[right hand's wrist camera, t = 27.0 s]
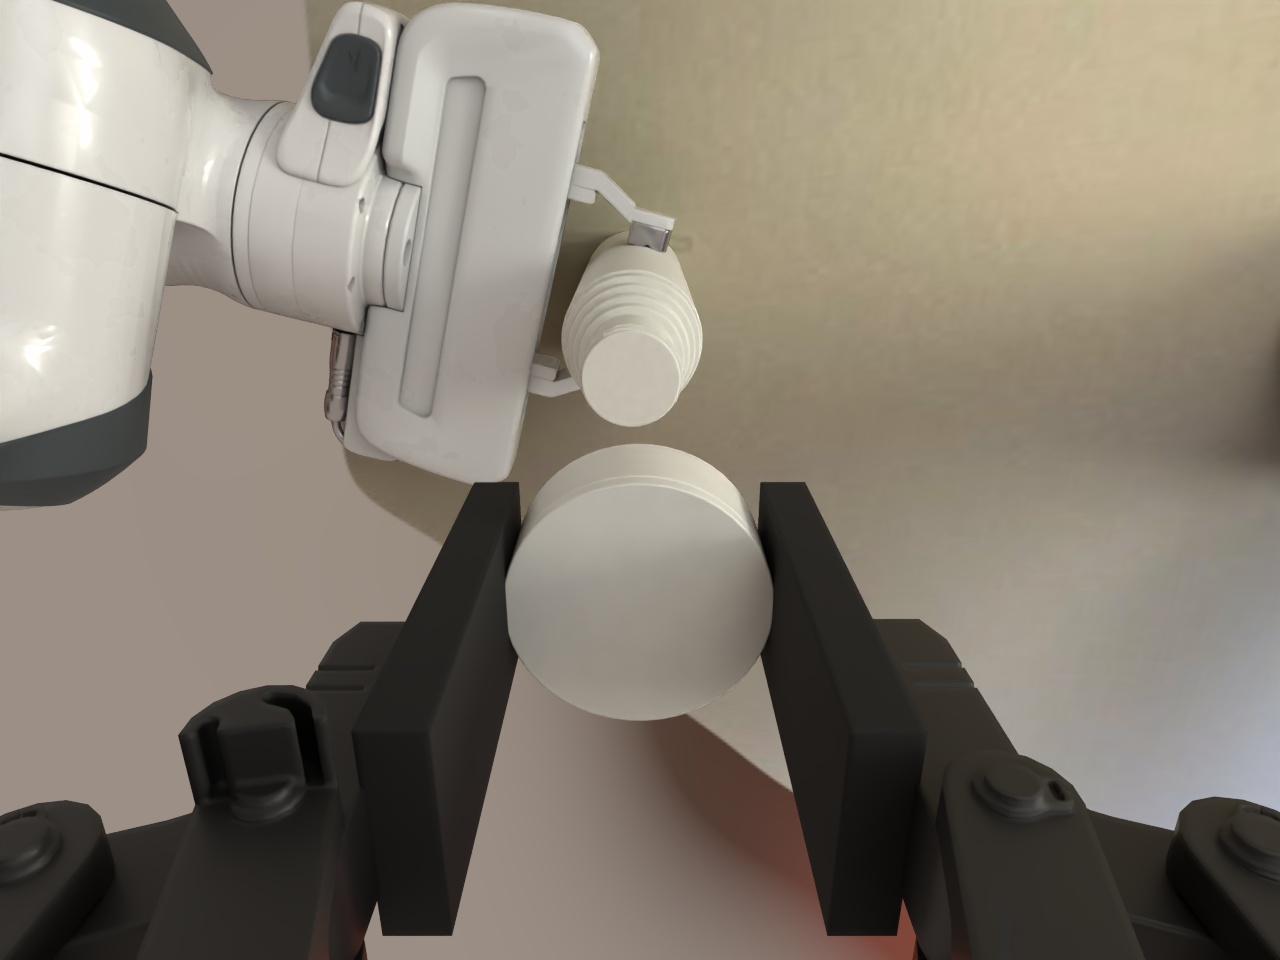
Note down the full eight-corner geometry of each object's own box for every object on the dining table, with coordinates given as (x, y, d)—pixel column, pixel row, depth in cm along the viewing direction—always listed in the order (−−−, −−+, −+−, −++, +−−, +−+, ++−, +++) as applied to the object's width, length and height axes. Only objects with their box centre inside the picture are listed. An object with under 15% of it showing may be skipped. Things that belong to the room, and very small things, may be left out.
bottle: (696, 305, 44) (740, 422, 25) (609, 343, 45) (589, 483, 26) (659, 213, 42) (676, 265, 24) (569, 254, 43) (516, 336, 24)
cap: (700, 401, 14) (709, 438, 12) (794, 606, 15) (814, 665, 13) (475, 503, 14) (452, 551, 12) (585, 689, 16) (578, 756, 14)
